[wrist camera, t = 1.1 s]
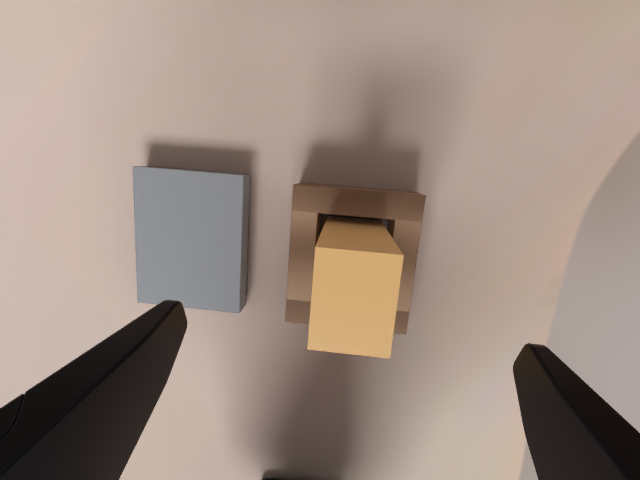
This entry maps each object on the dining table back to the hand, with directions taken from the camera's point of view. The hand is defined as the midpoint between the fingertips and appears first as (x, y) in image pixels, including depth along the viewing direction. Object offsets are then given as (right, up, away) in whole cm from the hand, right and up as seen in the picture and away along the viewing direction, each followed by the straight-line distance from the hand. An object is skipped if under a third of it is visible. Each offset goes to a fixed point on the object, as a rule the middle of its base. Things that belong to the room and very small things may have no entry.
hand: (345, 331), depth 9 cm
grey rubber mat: (-9, +3, +14) cm, 17 cm away
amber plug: (+1, +2, +14) cm, 14 cm away
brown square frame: (+1, +2, +14) cm, 14 cm away
